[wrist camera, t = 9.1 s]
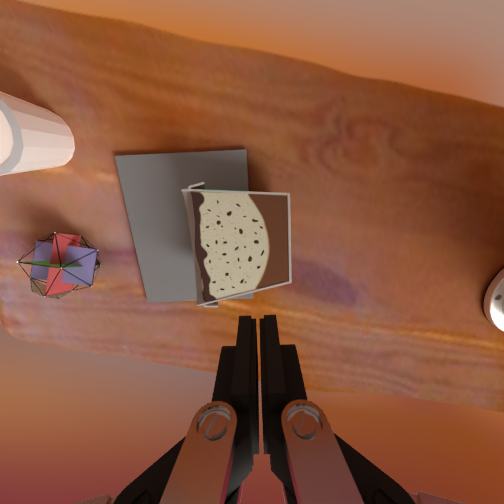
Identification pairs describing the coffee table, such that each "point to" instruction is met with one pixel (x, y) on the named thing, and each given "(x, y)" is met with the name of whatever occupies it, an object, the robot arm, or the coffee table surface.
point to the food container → (238, 241)
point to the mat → (172, 213)
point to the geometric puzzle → (61, 265)
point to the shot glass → (31, 137)
